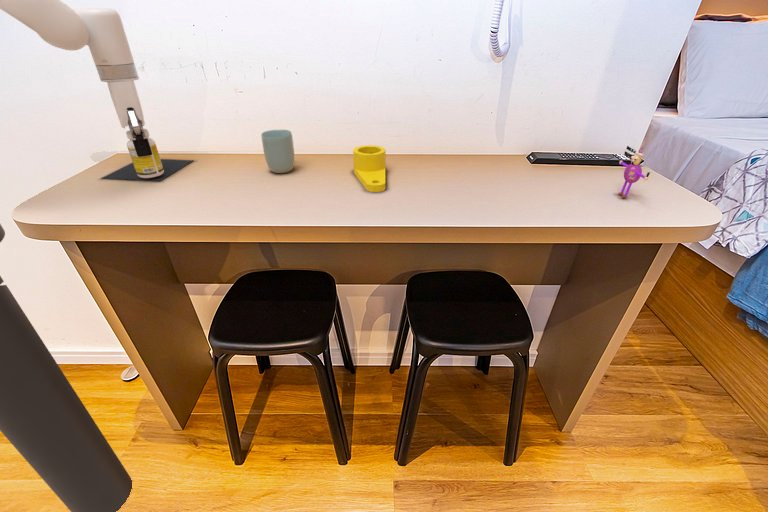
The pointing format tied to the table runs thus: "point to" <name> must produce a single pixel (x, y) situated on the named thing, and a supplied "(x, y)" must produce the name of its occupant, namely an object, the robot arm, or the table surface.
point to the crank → (370, 167)
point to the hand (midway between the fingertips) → (143, 151)
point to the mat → (130, 174)
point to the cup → (278, 150)
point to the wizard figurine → (632, 170)
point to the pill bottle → (145, 158)
